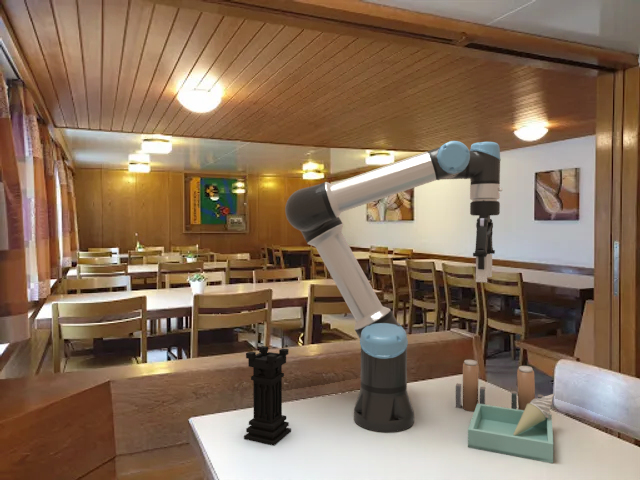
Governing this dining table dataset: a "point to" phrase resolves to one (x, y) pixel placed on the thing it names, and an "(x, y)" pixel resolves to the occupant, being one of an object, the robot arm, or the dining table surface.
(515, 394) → the clip row
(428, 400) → the dining table surface
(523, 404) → the cylinder
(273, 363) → the chess piece
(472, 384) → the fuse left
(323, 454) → the dining table surface
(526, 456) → the tray
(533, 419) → the ice cream cone
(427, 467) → the dining table surface
